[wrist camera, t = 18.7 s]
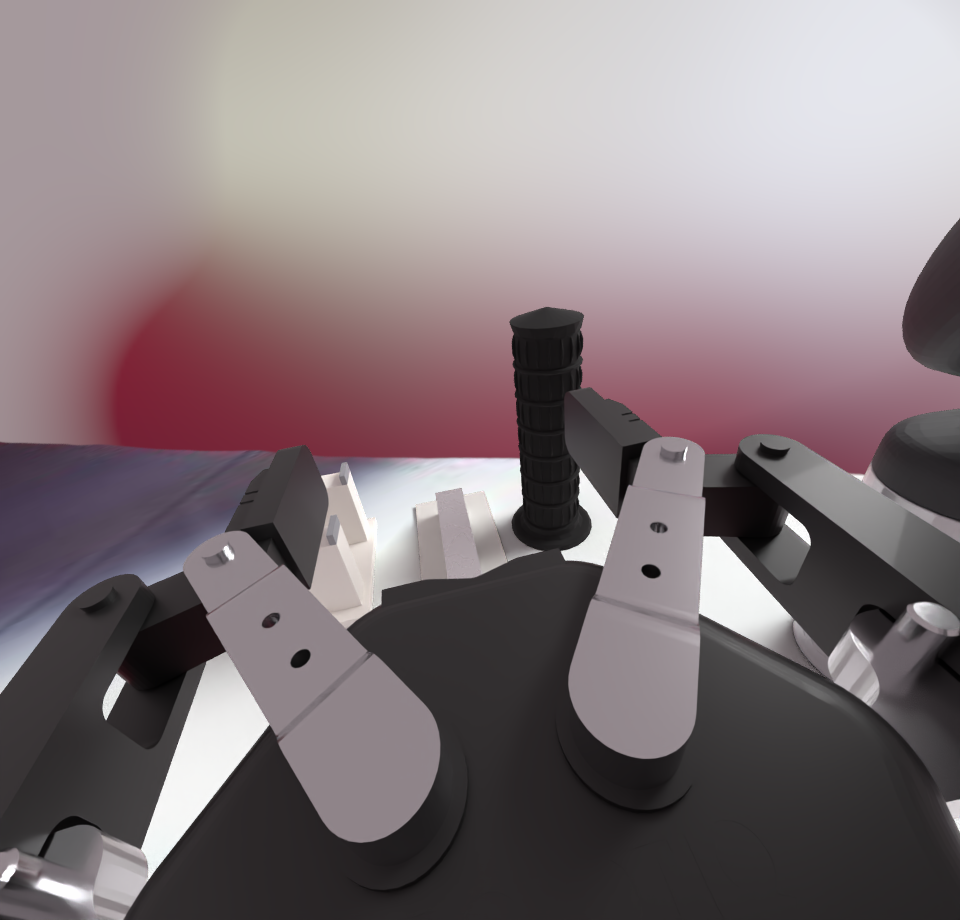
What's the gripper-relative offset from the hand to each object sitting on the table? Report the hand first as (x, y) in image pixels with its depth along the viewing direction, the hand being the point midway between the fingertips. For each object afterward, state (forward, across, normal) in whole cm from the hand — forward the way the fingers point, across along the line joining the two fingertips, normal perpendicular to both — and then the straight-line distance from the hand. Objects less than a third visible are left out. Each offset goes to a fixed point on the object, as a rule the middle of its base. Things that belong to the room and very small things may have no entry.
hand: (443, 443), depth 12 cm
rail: (+20, +1, +29) cm, 35 cm away
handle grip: (+26, -11, +30) cm, 41 cm away
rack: (+25, +15, +29) cm, 41 cm away
